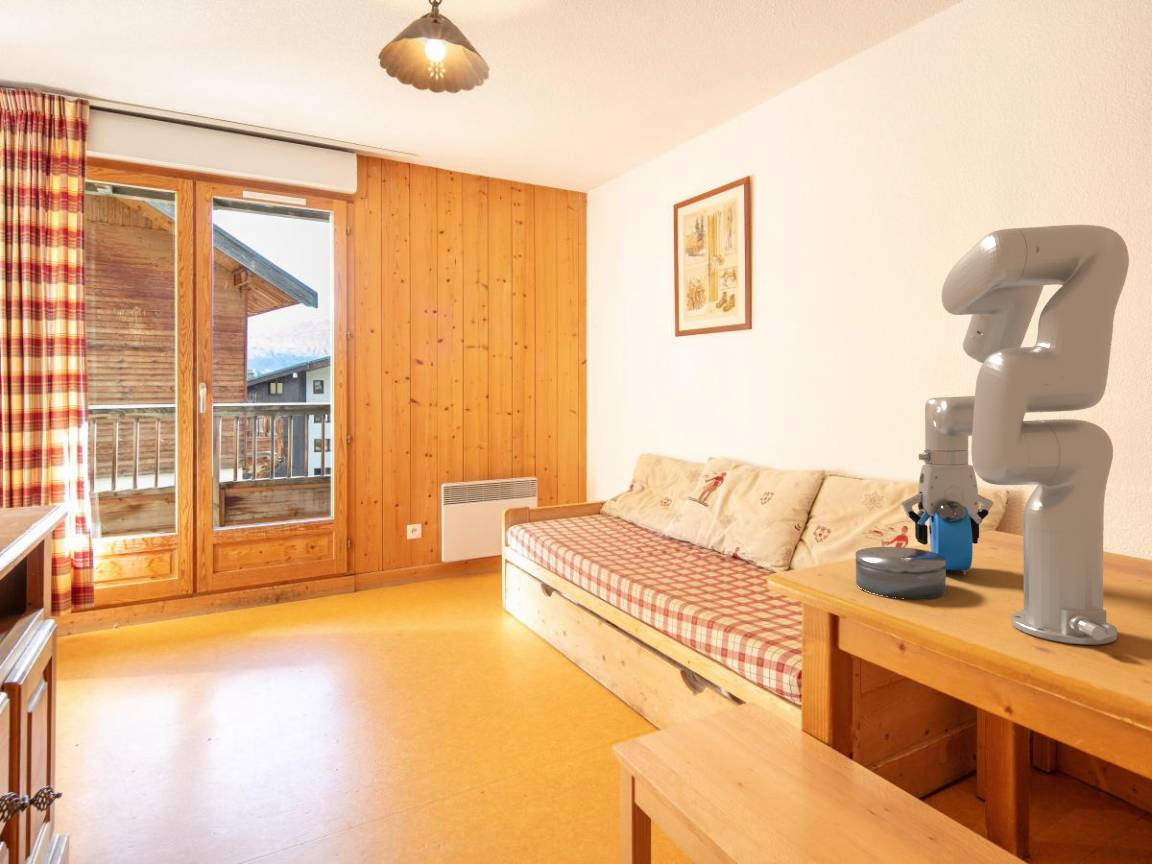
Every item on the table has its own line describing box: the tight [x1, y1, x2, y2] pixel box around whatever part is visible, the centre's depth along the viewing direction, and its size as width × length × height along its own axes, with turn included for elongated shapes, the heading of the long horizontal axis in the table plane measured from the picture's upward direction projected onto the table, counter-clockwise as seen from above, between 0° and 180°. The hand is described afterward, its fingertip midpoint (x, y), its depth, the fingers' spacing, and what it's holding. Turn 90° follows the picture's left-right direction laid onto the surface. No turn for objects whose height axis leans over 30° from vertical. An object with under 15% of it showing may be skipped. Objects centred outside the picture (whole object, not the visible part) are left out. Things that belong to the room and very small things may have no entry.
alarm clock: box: [928, 501, 974, 576], centre depth 129 cm, size 13×6×15 cm, turn 158°
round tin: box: [855, 546, 947, 601], centre depth 120 cm, size 15×15×6 cm
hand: (946, 542), depth 130 cm, fingers open, 9 cm apart
